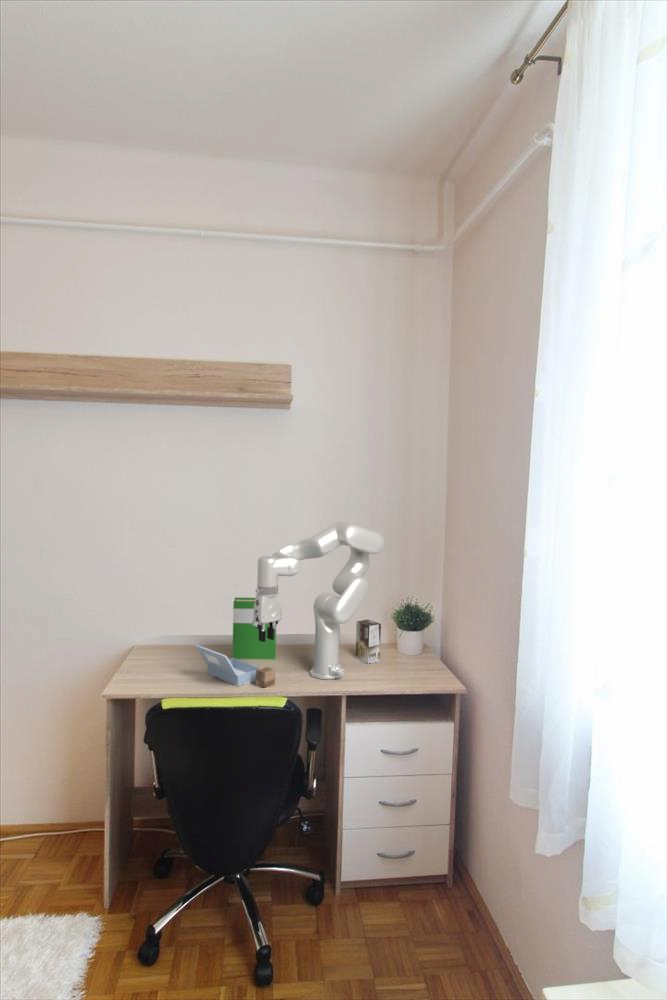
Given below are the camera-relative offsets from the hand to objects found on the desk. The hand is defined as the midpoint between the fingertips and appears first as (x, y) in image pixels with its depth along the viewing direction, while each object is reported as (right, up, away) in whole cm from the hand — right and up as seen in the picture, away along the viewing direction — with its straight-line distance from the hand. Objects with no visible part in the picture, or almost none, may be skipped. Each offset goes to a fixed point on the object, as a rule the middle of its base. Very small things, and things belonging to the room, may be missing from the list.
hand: (266, 639), depth 243 cm
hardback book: (-9, -15, +36) cm, 40 cm away
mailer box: (-13, -16, +10) cm, 23 cm away
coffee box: (+39, -16, +36) cm, 55 cm away
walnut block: (-1, -17, +1) cm, 17 cm away
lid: (-19, -8, +3) cm, 20 cm away
